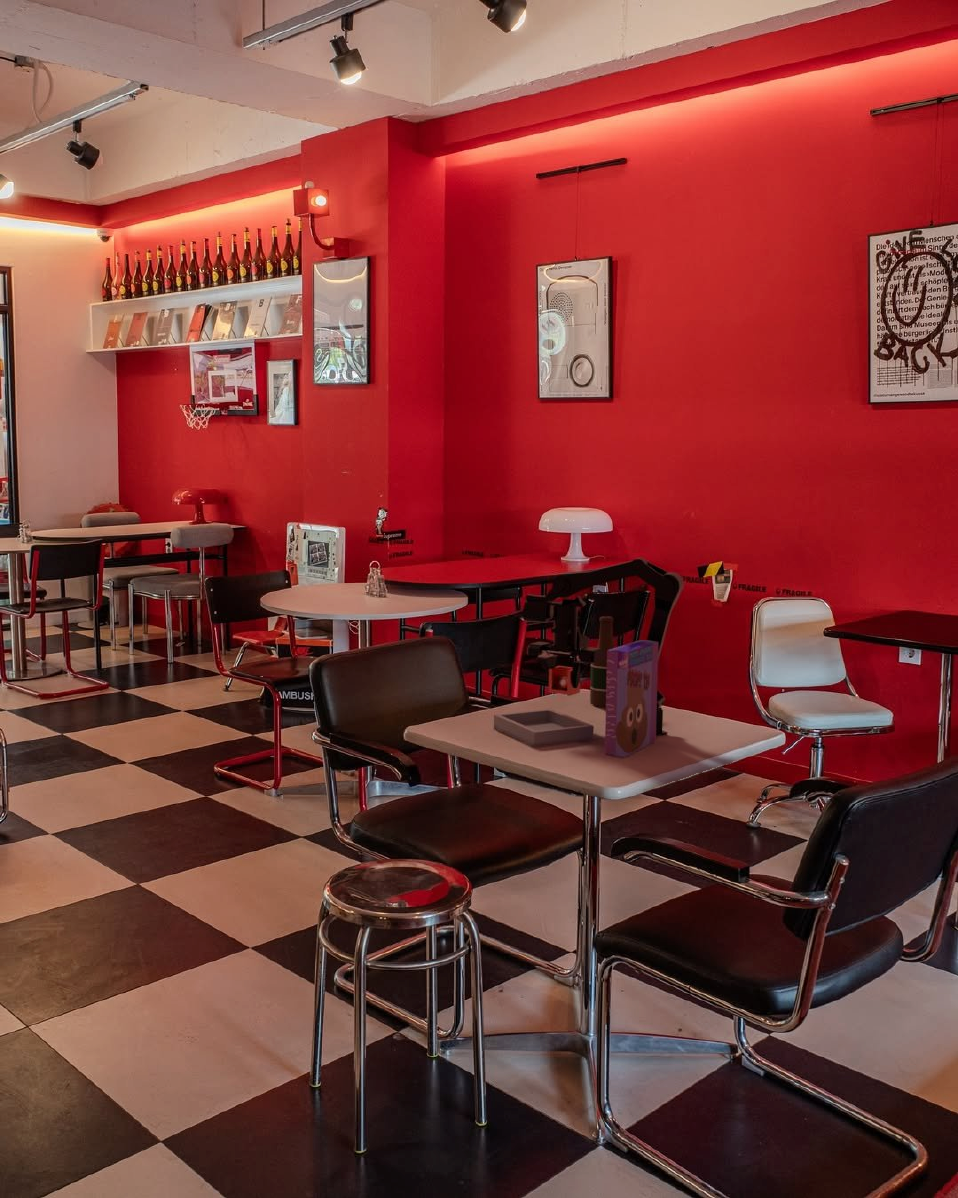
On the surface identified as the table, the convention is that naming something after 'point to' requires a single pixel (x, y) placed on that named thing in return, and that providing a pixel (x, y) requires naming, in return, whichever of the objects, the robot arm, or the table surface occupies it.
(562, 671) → the red arch stool
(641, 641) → the cereal box
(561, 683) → the steel ball
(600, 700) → the beer bottle
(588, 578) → the robot arm
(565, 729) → the slate tray
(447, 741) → the table surface
